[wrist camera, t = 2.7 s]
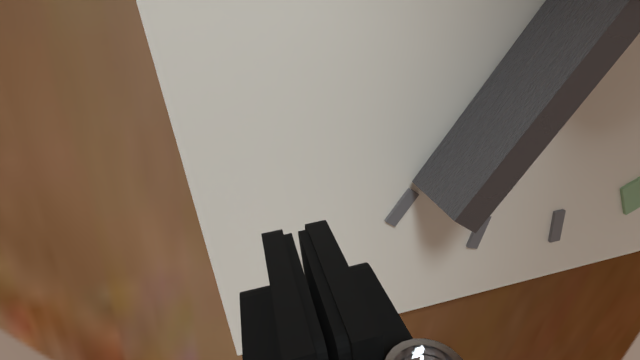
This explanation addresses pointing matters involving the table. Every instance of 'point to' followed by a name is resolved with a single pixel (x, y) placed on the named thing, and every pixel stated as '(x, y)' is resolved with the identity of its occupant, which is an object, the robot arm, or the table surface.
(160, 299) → the table surface
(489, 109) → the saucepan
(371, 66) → the dial board
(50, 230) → the table surface
